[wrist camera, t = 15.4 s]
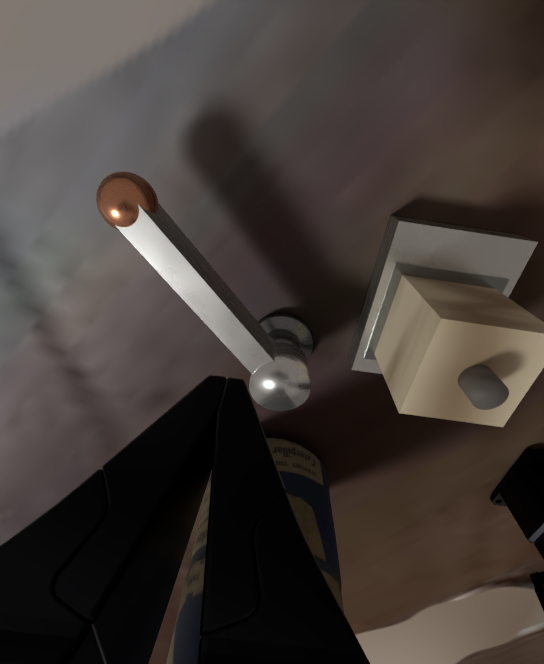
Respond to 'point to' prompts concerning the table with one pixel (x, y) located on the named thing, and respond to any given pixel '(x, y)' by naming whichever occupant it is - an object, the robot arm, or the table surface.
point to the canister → (316, 523)
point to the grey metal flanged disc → (289, 330)
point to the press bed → (433, 270)
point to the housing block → (458, 351)
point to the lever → (204, 291)
